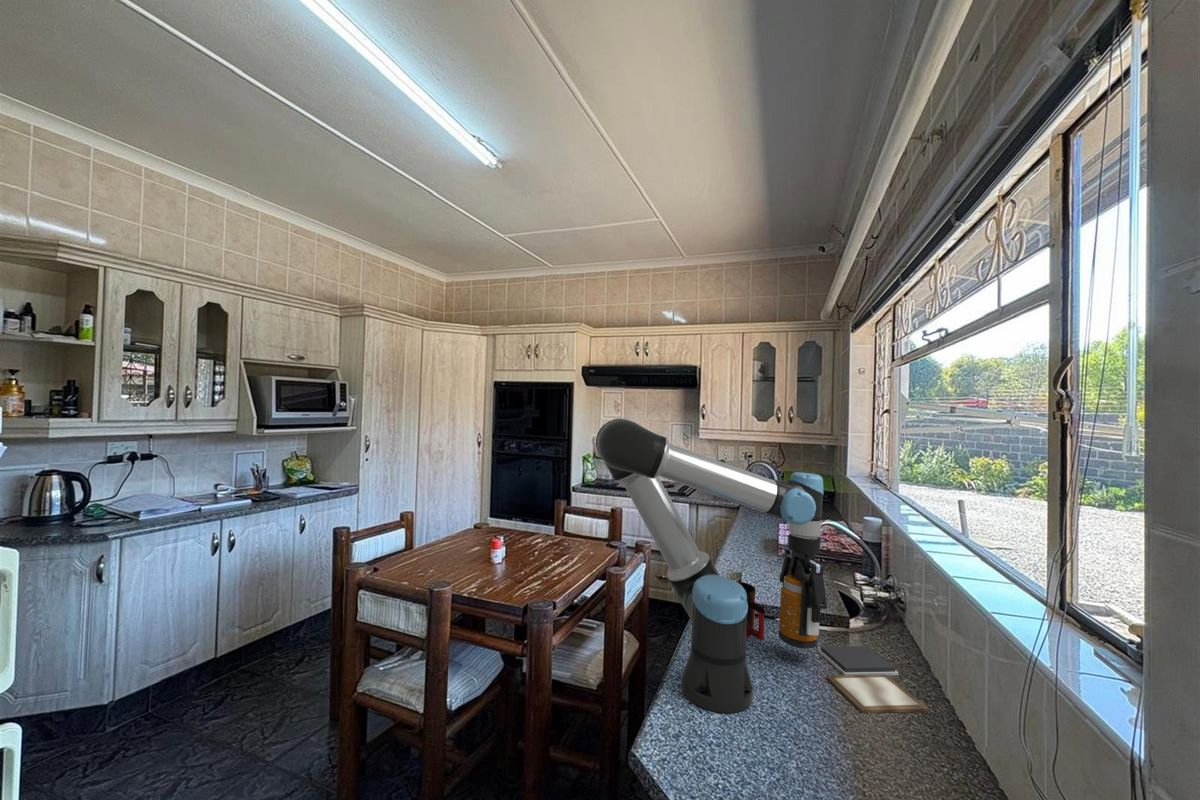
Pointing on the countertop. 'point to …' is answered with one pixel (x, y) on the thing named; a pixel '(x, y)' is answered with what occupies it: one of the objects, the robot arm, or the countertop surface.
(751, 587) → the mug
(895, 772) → the countertop surface
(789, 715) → the countertop surface
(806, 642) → the canister
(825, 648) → the ink pad
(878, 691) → the box board
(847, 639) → the countertop surface
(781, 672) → the countertop surface
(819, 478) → the robot arm
